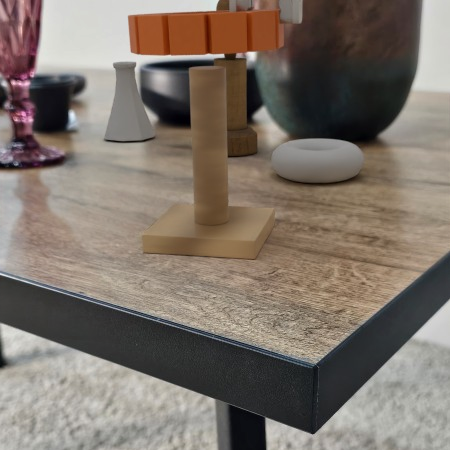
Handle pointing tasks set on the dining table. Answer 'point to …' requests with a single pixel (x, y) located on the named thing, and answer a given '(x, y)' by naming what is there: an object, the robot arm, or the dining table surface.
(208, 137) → the stand
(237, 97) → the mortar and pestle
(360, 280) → the dining table surface
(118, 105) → the flask
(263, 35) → the ring
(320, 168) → the donut
